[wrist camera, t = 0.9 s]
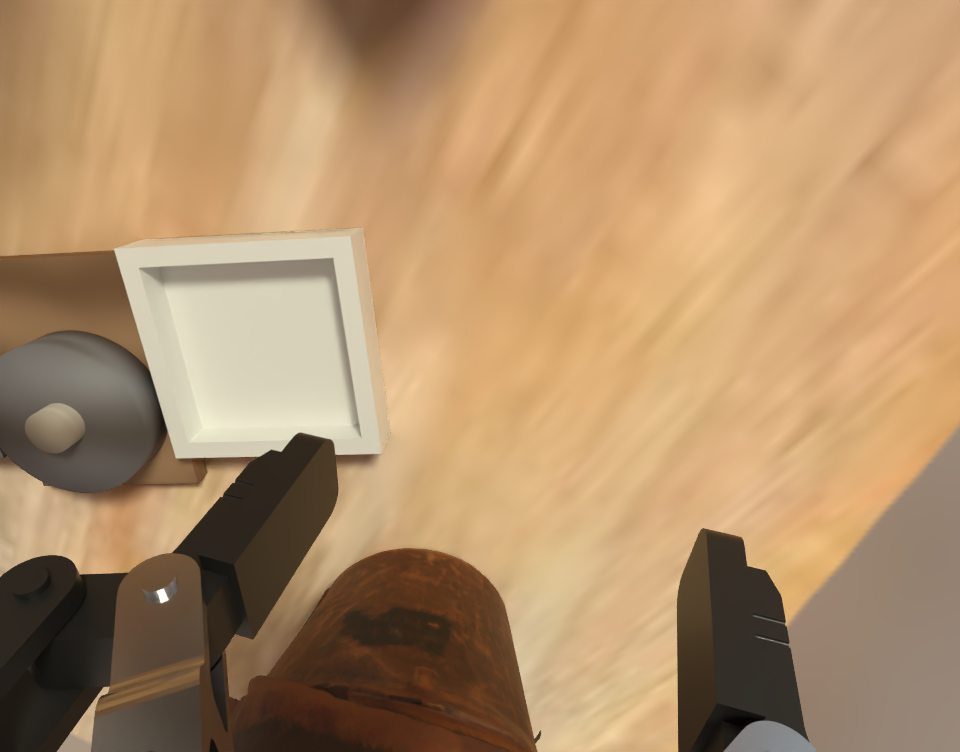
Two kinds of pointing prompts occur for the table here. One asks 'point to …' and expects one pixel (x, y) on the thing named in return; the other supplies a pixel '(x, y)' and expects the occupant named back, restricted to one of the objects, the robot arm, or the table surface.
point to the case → (394, 667)
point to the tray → (260, 340)
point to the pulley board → (81, 308)
